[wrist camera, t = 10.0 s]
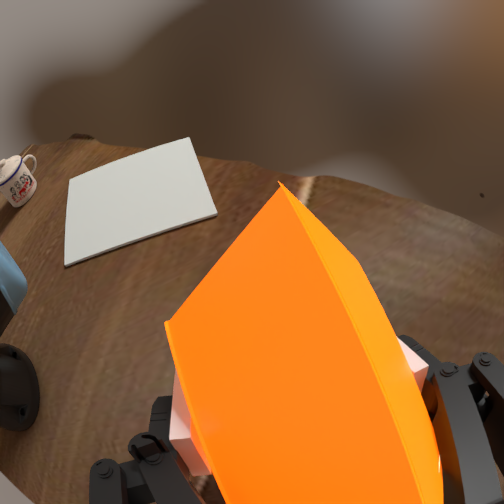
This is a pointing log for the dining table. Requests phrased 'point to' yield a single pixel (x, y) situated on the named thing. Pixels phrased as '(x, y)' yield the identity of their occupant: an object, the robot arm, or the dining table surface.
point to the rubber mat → (135, 200)
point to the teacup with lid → (17, 180)
